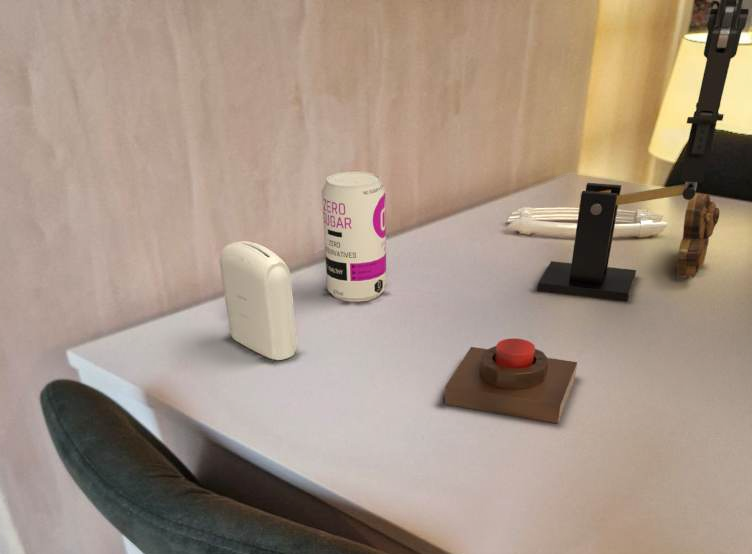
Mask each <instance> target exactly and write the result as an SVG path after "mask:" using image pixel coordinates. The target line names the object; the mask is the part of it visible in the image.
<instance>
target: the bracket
mask: <svg viewBox="0 0 752 554" xmlns="http://www.w3.org/2000/svg"><path fill="white" fill-rule="evenodd" d="M585 185H586V186H585V190H582V191H581V193H580V200H579V206H578V208H579V214H578V220H576V223H577V228H576V235H575V236H574V244H573V251H572V257H571V262H564V261H554V260H551V261H550V263H549V264H548V266H547V267H546V269H545V271H544V272H543V274H542V276H541V278H540V280H539V282H538V285H537V292H544V293H551V294H558V295H559V294H560V295H567V296H568V295H569V296H576V297H585V298H592V299H593V298H594V299H602V300H610V301H617V302H628V301H629V297H630V294H631V292H632V289H633V285H634V282H635V279H636V275H637V269H629V268H621V267H620V268H619V267H610V266H609V261H610V255H611V249H612V243H613V238H614V237H613V232H614V226H615V224H616V222H615V221H616V215H617V210H619V205H616V200H617V195H621V190H622V185H621V184H612V183H611V184H609V183H598V182H597V183H596V182H586V184H585ZM606 190H611V193H607V192H600V191H606Z"/></svg>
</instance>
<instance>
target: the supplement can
mask: <svg viewBox="0 0 752 554" xmlns="http://www.w3.org/2000/svg"><path fill="white" fill-rule="evenodd" d="M321 202H322V217H323V218H322V219H323V232H324V233H323V237H324V253H325V254H324V255H325V256H324V257H325V272H326V287H327V288H326V289H327V291H328V292H329V294H331V295H332V296H333V297H334V298H335V299H337V300H340V301H345V302H349V303H350V302H352V303H353V302H358V303H359V302H367V301H370V300H374V299H377V298H378V297H380V296H381V294H382V293H383V292H385V290H386V288H387V220H386V218H387V217H386V216H387V215H386V213H387V212H386V209H387V208H386V202H387V201H386V189H385V187H384V185H383V184H382V181H381V177H380V175H378V174H376V173H372V172H366V171H346V172H345V171H344V172H339V173H334V174H331V175H329V176H327V177H326V178H325V183H324V186H323V188H322V190H321Z"/></svg>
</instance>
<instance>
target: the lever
mask: <svg viewBox="0 0 752 554" xmlns="http://www.w3.org/2000/svg"><path fill="white" fill-rule="evenodd" d="M697 187H698V182H685V183H684V184H678V185H672V186H666V187H660V188H653V189H648V190H642V191H636V192H629V193H623V194H620V195H617V200H616V205H618V206H621V205H628V204H633V203H639V202H646V201H654V200H660V199H666V198H672V197H680V196H682V197H683V199H684V200H686V201H689V200H690V199H692V198H693V197H694V196H695V194H697V193H696V191H697ZM600 192H607V193H611V190H606V191H600Z"/></svg>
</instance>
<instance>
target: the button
mask: <svg viewBox="0 0 752 554" xmlns="http://www.w3.org/2000/svg"><path fill="white" fill-rule="evenodd" d="M495 346H496V355H495V362H496V364H499V365H501V366H503V367H507V368H514V369H518V368H527V367H529V366H531V365H533V361H534V352H535V349H536V346H535V344H534V343H533V342H531V341H530V340H527V339H524V338H523V339H522V338H505V339H502V340H500V341H498V342H497V343H496V345H495Z"/></svg>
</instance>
